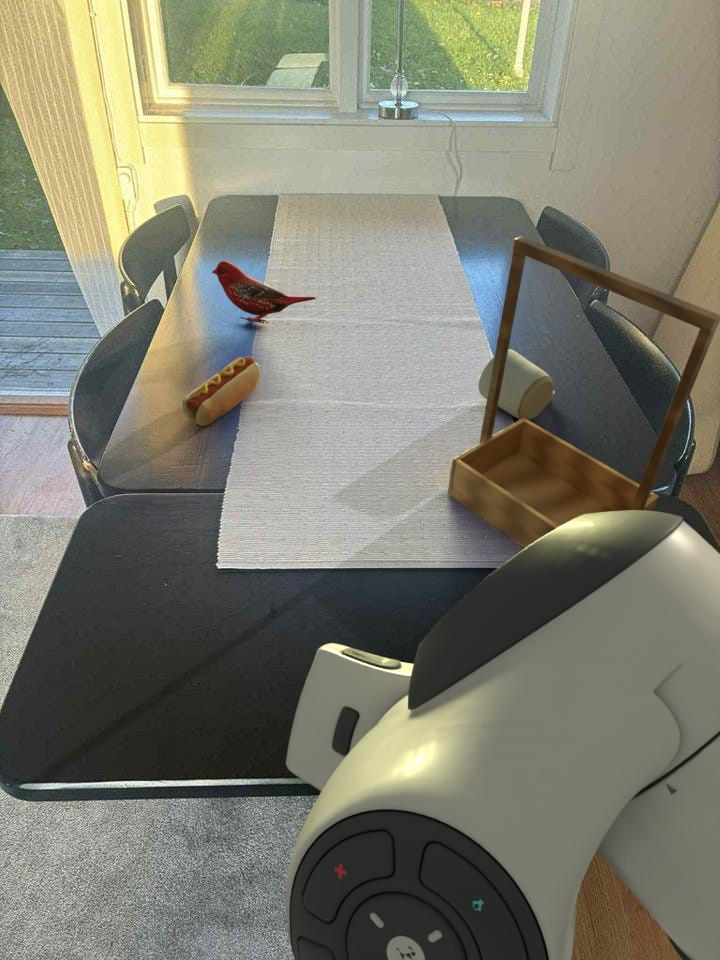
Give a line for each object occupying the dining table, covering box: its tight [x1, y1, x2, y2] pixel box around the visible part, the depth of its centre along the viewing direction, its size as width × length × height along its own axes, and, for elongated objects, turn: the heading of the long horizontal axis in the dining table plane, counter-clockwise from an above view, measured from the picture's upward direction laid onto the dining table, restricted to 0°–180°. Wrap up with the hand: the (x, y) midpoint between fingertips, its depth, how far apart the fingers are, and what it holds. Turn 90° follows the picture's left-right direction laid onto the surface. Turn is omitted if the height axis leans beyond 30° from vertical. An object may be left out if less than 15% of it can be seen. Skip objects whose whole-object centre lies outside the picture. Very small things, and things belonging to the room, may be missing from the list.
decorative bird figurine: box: [211, 260, 317, 324], centre depth 113 cm, size 3×18×10 cm, turn 74°
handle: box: [478, 236, 720, 510], centre depth 74 cm, size 21×1×30 cm, turn 41°
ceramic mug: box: [478, 348, 556, 421], centre depth 98 cm, size 11×8×8 cm
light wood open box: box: [447, 418, 660, 549], centre depth 82 cm, size 19×13×6 cm
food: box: [182, 355, 261, 427], centre depth 97 cm, size 14×6×5 cm, turn 152°
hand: (486, 708), depth 46 cm, fingers open, 8 cm apart
